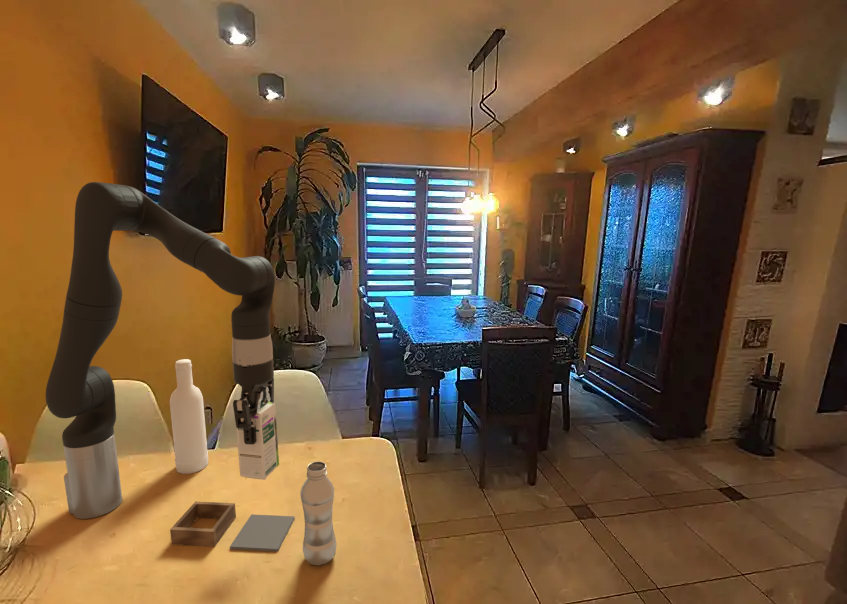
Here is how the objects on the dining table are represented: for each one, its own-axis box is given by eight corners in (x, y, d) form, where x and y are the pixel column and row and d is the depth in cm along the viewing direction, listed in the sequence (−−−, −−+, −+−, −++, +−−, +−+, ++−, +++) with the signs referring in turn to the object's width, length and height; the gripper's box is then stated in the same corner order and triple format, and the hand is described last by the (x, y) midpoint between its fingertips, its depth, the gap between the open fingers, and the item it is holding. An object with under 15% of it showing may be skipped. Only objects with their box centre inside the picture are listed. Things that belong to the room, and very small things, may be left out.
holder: (171, 544, 90) (170, 529, 90) (196, 515, 99) (195, 501, 99) (214, 546, 90) (213, 531, 89) (236, 517, 99) (235, 503, 98)
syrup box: (264, 480, 88) (261, 413, 86) (238, 476, 89) (234, 410, 87) (279, 465, 94) (276, 401, 91) (254, 462, 95) (251, 399, 92)
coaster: (229, 549, 89) (229, 546, 89) (251, 516, 99) (251, 514, 99) (277, 551, 89) (277, 549, 89) (294, 518, 99) (294, 516, 99)
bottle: (196, 455, 124) (187, 354, 119) (215, 462, 121) (206, 359, 115) (169, 469, 117) (158, 362, 112) (188, 477, 114) (178, 367, 108)
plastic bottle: (320, 575, 83) (317, 480, 79) (295, 560, 87) (291, 468, 83) (343, 554, 88) (341, 464, 85) (319, 541, 92) (316, 453, 88)
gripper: (250, 346, 94) (254, 419, 97) (215, 368, 80) (222, 452, 83) (284, 347, 94) (287, 420, 97) (255, 370, 80) (260, 454, 83)
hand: (257, 435), depth 90 cm, fingers closed on syrup box, 6 cm apart
